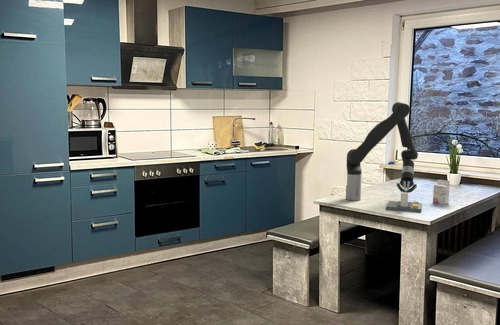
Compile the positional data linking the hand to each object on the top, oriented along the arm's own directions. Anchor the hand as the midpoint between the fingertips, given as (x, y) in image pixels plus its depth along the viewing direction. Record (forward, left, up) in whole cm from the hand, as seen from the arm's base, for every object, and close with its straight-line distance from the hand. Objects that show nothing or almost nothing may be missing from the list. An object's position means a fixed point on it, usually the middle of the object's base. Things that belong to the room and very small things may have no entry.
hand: (405, 196), depth 315 cm
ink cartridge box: (+21, +16, -6) cm, 27 cm away
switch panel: (0, -8, -5) cm, 10 cm away
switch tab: (0, -13, -3) cm, 13 cm away
